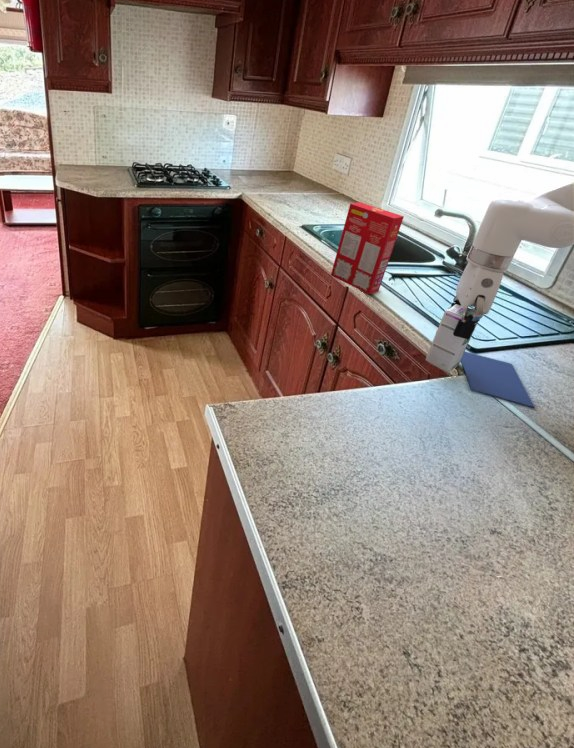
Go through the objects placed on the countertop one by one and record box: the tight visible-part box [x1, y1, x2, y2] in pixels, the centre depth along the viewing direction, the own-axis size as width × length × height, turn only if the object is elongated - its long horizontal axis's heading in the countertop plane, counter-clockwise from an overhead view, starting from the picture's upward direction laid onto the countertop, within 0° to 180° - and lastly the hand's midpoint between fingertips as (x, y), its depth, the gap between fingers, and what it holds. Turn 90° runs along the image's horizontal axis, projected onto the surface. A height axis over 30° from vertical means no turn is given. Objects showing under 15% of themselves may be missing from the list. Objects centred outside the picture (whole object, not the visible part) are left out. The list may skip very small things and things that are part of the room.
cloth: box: [460, 351, 535, 409], centre depth 94 cm, size 12×16×1 cm
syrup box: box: [425, 304, 477, 374], centre depth 94 cm, size 6×6×14 cm
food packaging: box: [330, 201, 404, 295], centre depth 127 cm, size 15×5×25 cm, turn 37°
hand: (457, 327), depth 93 cm, fingers closed on syrup box, 7 cm apart
